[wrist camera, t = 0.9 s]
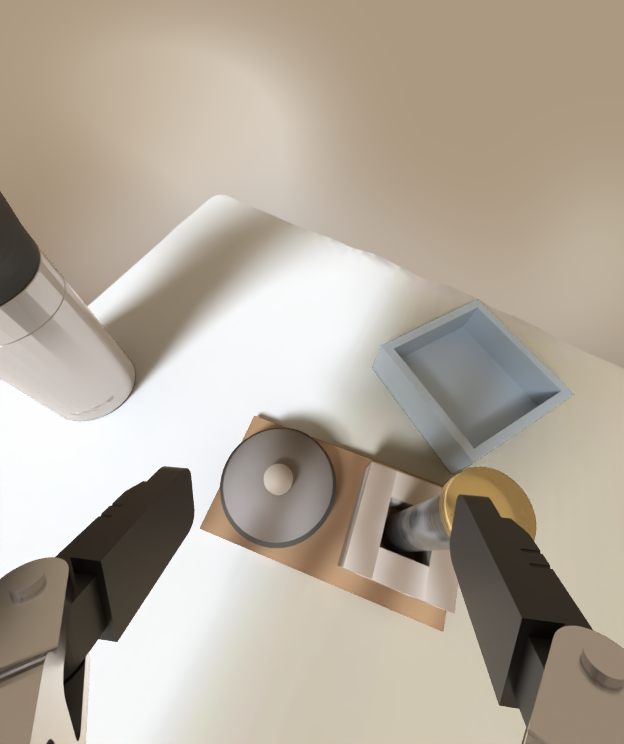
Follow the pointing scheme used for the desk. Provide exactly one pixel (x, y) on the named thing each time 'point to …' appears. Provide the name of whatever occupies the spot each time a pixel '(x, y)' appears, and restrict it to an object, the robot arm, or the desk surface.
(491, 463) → the desk surface
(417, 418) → the pin tray
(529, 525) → the lock pin
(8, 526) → the desk surface
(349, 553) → the board
